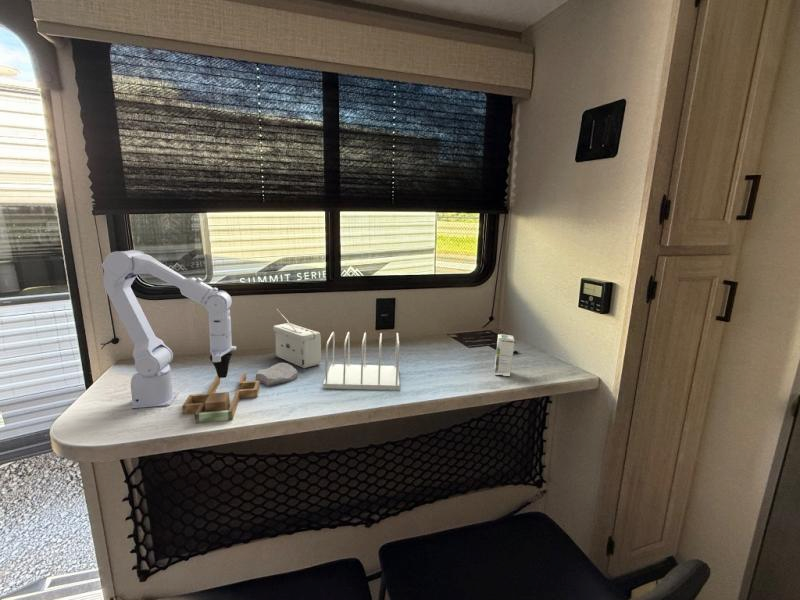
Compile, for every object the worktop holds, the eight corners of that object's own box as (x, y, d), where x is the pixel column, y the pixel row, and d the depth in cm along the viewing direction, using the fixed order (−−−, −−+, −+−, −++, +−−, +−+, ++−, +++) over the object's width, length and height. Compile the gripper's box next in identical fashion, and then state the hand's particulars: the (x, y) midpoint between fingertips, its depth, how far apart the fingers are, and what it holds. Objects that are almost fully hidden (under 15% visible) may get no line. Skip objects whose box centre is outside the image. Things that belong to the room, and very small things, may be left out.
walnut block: (205, 418, 99) (204, 403, 98) (210, 408, 104) (209, 393, 103) (226, 416, 100) (225, 401, 99) (229, 406, 106) (229, 392, 105)
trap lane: (175, 425, 95) (175, 416, 94) (202, 383, 120) (201, 376, 120) (252, 417, 100) (252, 409, 99) (261, 379, 125) (261, 372, 125)
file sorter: (322, 389, 119) (322, 343, 116) (330, 369, 136) (330, 328, 133) (399, 390, 120) (400, 344, 117) (398, 370, 137) (399, 330, 134)
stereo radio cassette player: (322, 365, 140) (321, 314, 136) (303, 370, 134) (302, 317, 130) (290, 352, 153) (289, 305, 149) (272, 357, 147) (271, 308, 143)
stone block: (300, 382, 128) (283, 370, 134) (301, 370, 126) (284, 358, 132) (270, 394, 119) (253, 380, 124) (271, 382, 117) (254, 368, 123)
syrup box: (494, 370, 140) (497, 333, 137) (510, 371, 138) (513, 335, 136) (494, 376, 134) (497, 337, 131) (511, 377, 133) (514, 339, 130)
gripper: (231, 339, 101) (233, 385, 104) (239, 326, 115) (240, 367, 117) (202, 340, 99) (205, 387, 102) (214, 327, 113) (216, 368, 116)
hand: (222, 376), depth 109 cm, fingers closed
